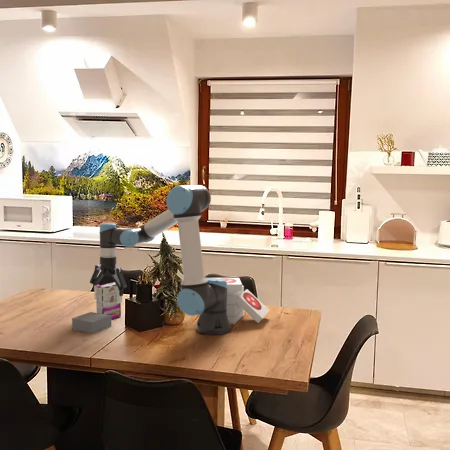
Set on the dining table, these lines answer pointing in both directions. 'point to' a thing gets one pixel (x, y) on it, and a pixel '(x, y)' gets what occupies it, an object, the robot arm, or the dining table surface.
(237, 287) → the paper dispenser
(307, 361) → the dining table surface
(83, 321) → the grey block
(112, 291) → the candy bar box
